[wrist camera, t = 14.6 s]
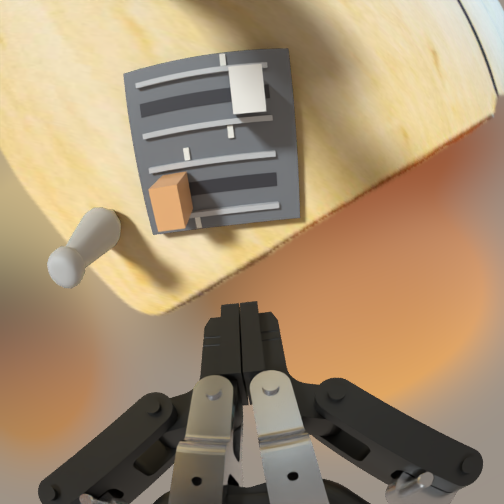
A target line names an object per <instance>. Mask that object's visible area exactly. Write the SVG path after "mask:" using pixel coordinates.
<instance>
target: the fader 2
mask: <svg viewBox="0 0 504 504" xmlns="http://www.w3.org/2000/svg"><path fill="white" fill-rule="evenodd" d="M228 70H229V79H230V88H231V97H232V106H233V114H242V113H252V112H264V111H266V102H265V92H264V82H263V72H262V64H252V65H240V66H230V67H228Z"/></svg>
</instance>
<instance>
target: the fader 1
mask: <svg viewBox="0 0 504 504" xmlns="http://www.w3.org/2000/svg"><path fill="white" fill-rule="evenodd" d="M148 190H149V195H150V199H151V204H152V208H153V212H154V216H155V221H156V225H157V229H158V232H162V231H169V230H176V229H184V228H186V225H187V223H188V220H189V218H190V215H191V213H192V210H193V205H192V199H191V193H190V188H189V182H188V176H187V171H186V172H180V173H174V174H168V175H163V176H162V177H160V178H159V179H158V180H157V181H156V182H155V183H154V184H153V185H152V186H151V187H150V188H149V189H148Z"/></svg>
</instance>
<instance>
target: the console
mask: <svg viewBox="0 0 504 504" xmlns="http://www.w3.org/2000/svg"><path fill="white" fill-rule="evenodd" d="M252 64H262V72H263V82H264V92H265V102H266V111H264V112H252V113H242V114H233V106H232V97H231V88H230V79H229V70H228V67H230V66H240V65H252ZM124 84H125V92H126V100H127V108H128V115H129V122H130V128H131V134H132V140H133V146H134V152H135V157H136V162H137V167H138V172H139V177H140V182H141V186H142V191H143V195H144V200H145V204H146V208H147V213H148V217H149V221H150V225H151V228H152V232H153V235H156V234H163V233H171V232H178V231H186V230H194V229H202V228H210V227H218V226H227V225H235V224H244V223H253V222H263V221H272V220H282V219H292V218H300V202H299V177H298V157H297V140H296V125H295V112H294V100H293V89H292V78H291V68H290V59H289V50H288V49H258V50H244V51H233V52H224V53H216V54H209V55H202V56H196V57H191V58H185V59H180V60H175V61H170V62H166V63H162V64H157V65H153V66H150V67H146V68H142V69H138V70H135V71H131V72H128V73H125V74H124ZM186 171H187V176H188V182H189V188H190V193H191V199H192V205H193V210H192V213H191V215H190V218H189V220H188V223H187V225H186V228H184V229H176V230H169V231H162V232H158V229H157V225H156V221H155V216H154V212H153V208H152V204H151V199H150V195H149V190H148V189H149V188H150V187H151V186H152V185H153V184H154V183H155V182H156V181H157V180H158V179H159V178H160V177H162V176H163V175H168V174H174V173H180V172H186Z"/></svg>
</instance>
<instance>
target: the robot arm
mask: <svg viewBox="0 0 504 504" xmlns="http://www.w3.org/2000/svg"><path fill="white" fill-rule="evenodd" d="M203 341H204V342H203V351H202V363H201V376H200V380H199V381H198V382H197V383H196V385H195V387H194V389H192V390H191V391H189V392H188V393H186V394H182V395H179V396H176V397H172V398H169V397H168V396H166V395H165V394H162V393H157V392H154V393H149V394H146V395H145V396H143V397H142V398H141V399H139V400H138V401H137V402H136V403H135V404H134V405H133V406H131V407H130V408H129V409H128V410H127V411H126V412H125V413H123V414H122V415H121V416H120V417H119V418H118V419H117V420H115V421H114V422H113V423H112V424H111V425H110V426H108V427H107V428H106V429H105V430H104V431H103V432H101V433H100V434H99V435H98V436H97V437H95V438H94V439H93V440H92V441H91V442H89V443H88V444H87V445H86V446H85V447H83V448H82V449H81V450H80V451H79V452H77V453H76V454H75V455H74V456H73V457H71V458H70V459H69V460H68V461H67V462H65V463H64V464H63V465H61V466H60V467H59V468H58V469H56V470H55V471H54V472H53V473H51V474H50V475H49V476H48V477H46V478H45V479H44V480H43V481H41V483H40V485H39V488H38V495H39V498H40V501H41V502H42V504H130V503H131V502H132V501H133V500H134V499H135V498H136V497H138V496H139V495H140V494H141V493H142V492H143V491H145V490H146V489H147V488H148V487H149V486H150V485H151V484H152V483H153V482H155V481H156V480H157V479H158V478H159V477H160V476H161V475H162V474H163V473H164V472H165V471H166V470H167V469H168V468H170V467H171V465H173V464H174V468H173V474H172V482H171V488H170V491H169V492H167V493H165V494H164V495H162V496H161V497H159V498H158V499H157V500H156V501H155V502H154V503H153V504H370V503H369V502H367V501H365V500H364V499H362V498H361V497H359V496H358V495H356V494H355V493H353V492H352V491H350V490H349V489H348V488H346V487H344V486H342V485H341V484H339V483H336V482H333V481H330V480H326V479H322V477H321V473H320V470H319V466H318V463H317V459H316V456H315V453H314V449H313V446H312V442H311V439H310V437H309V435H313V437H315V438H316V439H317V440H319V441H320V442H321V443H323V444H324V445H326V446H327V447H329V448H330V449H332V450H333V451H335V452H336V453H337V454H339V455H340V456H342V457H344V458H345V459H347V460H348V461H350V462H351V463H353V464H354V465H356V466H357V467H359V468H361V469H362V470H364V471H366V472H367V473H369V474H371V475H372V476H374V477H376V478H377V479H379V480H381V481H382V482H384V483H386V484H388V487H387V489H386V493H385V497H386V500H387V502H388V503H389V504H450V503H451V501H452V499H453V498H454V496H455V494H456V493H457V491H458V490H459V489H462V488H464V487H466V486H468V485H470V484H471V483H473V482H474V481H475V480H476V479H477V478H478V477H479V475H480V474H481V471H482V468H483V459H482V456H481V454H480V453H479V452H478V451H477V450H475V449H473V448H471V447H469V446H467V445H464V444H462V443H460V442H458V441H456V440H454V439H452V438H450V437H448V436H446V435H444V434H442V433H440V432H438V431H436V430H434V429H432V428H430V427H429V426H427V425H425V424H423V423H421V422H419V421H417V420H415V419H414V418H412V417H410V416H408V415H406V414H404V413H403V412H401V411H399V410H397V409H395V408H393V407H392V406H390V405H388V404H387V403H384V402H383V401H381V400H380V399H378V398H376V397H375V396H373V395H371V394H369V393H368V392H366V391H364V390H363V389H361V388H359V387H358V386H356V385H354V384H353V383H351V382H349V381H348V380H346V379H343V378H330V379H328V380H325V381H323V382H322V383H321V384H320V385H316V384H307V383H302V382H299V381H297V380H295V379H294V378H293V377H292V376H291V375H290V374H289V372H288V371H287V367H286V361H285V356H284V351H283V345H282V340H281V335H280V329H279V324H278V320H277V319H276V317H275V316H274V315H273V314H272V312H265V313H258V305H257V301H254V302H245V303H240V307H239V304H238V303H237V304H226V305H222V306H221V317H218V318H210V320H209V321H208V323H207V324H206V326H205V329H204V340H203ZM248 397H249V401H250V405H253V411H254V416H255V422H256V427H257V433H258V440H259V447H260V453H261V458H262V464H263V469H264V474H265V480H266V483H263V484H260V485H256V486H253V487H249V488H245V487H243V470H242V437H243V406H242V405H248Z"/></svg>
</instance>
